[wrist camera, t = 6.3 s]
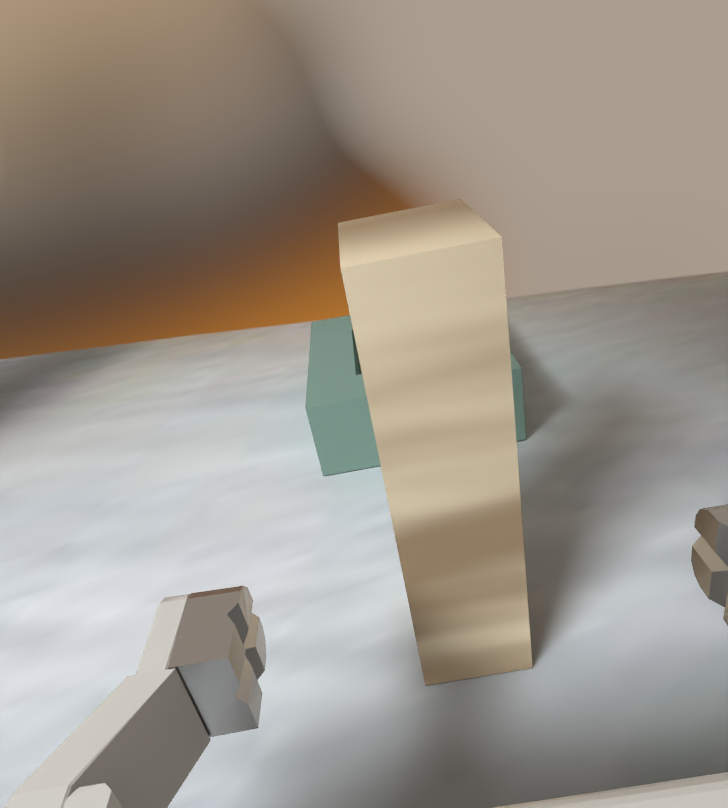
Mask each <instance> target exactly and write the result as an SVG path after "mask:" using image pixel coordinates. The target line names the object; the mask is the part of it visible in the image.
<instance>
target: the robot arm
mask: <svg viewBox="0 0 728 808" xmlns="http://www.w3.org/2000/svg"><path fill="white" fill-rule="evenodd" d="M694 527H695V528H696V529H697V531H698V532H699V533H700V534H701V537H700V538H699V539H698V540H697V541H696V542H695V543H694V545H693V546H692V558H691V561H692V565H693V570H694V574H695V577H696V579H697V581H698V583H699V585H700V587H701V589H702V590H703V591H704V593H705V594H706V596H707V597H708V599H710V600H712V601H714V602H716V603H718V604H720V605H721V606H723V607H725V611H724V618H723V619H724V621H725V622H726V623H727V625H728V504H725V505H720V506H714V507H708V508H703V509H700V510H699V511H698V513H697V515H696V519H695V526H694ZM252 603H253V599H252V597H251V595H250V592H249V590H248V587H245V586H239V587H232V588H225V589H218V590H211V591H204V592H197V593H191V594H188V595H181V596H174V597H166V598H164V599H163V600H162V601H161V603H160V604H159V606H158V609H157V612H156V615H155V618H154V621H153V624H152V627H151V630H150V633H149V636H148V639H147V642H146V645H145V648H144V651H143V654H142V657H141V660H140V663H139V666H138V669H137V672H136V675H131V676H127V677H126V678H125V679H124V680H123V681H122V682H121V683H120V684H119V685H118V686H117V687H116V688H115V690H114V691H113V692H112V693H111V694H110V695H109V696H108V697H107V698H106V699H105V700H104V701H103V702H102V703H101V704H100V705H99V706H98V707H97V708H96V709H95V710H94V711H93V712H92V713H91V714H90V715H89V716H88V717H87V718H86V719H85V720H84V721H83V722H82V723H81V724H80V725H79V726H78V727H77V728H76V729H75V730H74V731H73V732H72V733H71V734H70V735H69V736H68V737H67V738H66V739H65V741H64V742H63V743H62V744H61V745H60V746H59V747H58V748H57V749H56V750H55V751H54V752H53V753H52V754H51V755H50V756H49V757H48V758H47V759H46V760H45V761H44V762H43V763H42V764H41V765H40V766H39V767H38V768H37V769H36V770H35V771H34V772H33V773H32V774H31V775H30V776H29V777H28V778H27V779H26V780H25V781H24V782H23V783H22V784H21V785H20V786H19V787H18V788H17V789H16V791H15V792H14V793H13V794H12V795H11V796H10V799H9V801H8V803H7V805H6V808H167V807H168V805H169V804H170V802H171V801H172V799H173V798H174V796H175V795H176V793H177V791H178V790H179V788H180V787H181V785H182V784H183V782H184V781H185V779H186V778H187V776H188V774H189V773H190V771H191V770H192V768H193V767H194V765H195V764H196V762H197V761H198V759H199V757H200V756H201V754H202V753H203V751H204V750H205V748H206V747H207V745H208V744H209V742H210V737H214V736H219V735H224V734H230V733H235V732H240V731H245V730H251V729H256V728H258V725H259V716H260V708H261V699H262V691H261V688H260V686H259V683H258V681H257V680H258V679H259V677H260V676H261V675H262V673H263V672H264V671H265V662H266V645H265V636H264V631H263V627H262V624H261V621H260V618H259V617H258V616H256V615H254V614H253V613H251V610H252ZM492 808H728V772H725V773H718V774H712V775H705V776H698V777H692V778H685V779H678V780H672V781H665V782H659V783H652V784H645V785H639V786H632V787H625V788H619V789H612V790H606V791H599V792H592V793H586V794H579V795H572V796H566V797H559V798H552V799H546V800H539V801H532V802H526V803H519V804H512V805H506V806H499V807H492Z"/></svg>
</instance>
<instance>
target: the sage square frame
mask: <svg viewBox="0 0 728 808" xmlns="http://www.w3.org/2000/svg"><path fill="white" fill-rule="evenodd" d="M510 357H511V371H512V385H513V399H514V413H515V427H516V441H521V440H526V430H525V414H524V398H523V381H522V368H521V366H520V365H519V363H518V362H517V360H516V359H515V357H514V356H513V354H512V353H511V351H510ZM306 411H307V415H308V419H309V423H310V427H311V431H312V434H313V438H314V442H315V446H316V450H317V454H318V457H319V461H320V465H321V469H322V473H323V476H326V475H332V474H337V473H343V472H348V471H354V470H359V469H365V468H371V467H376V466H381V464H380V459H379V454H378V450H377V445H376V440H375V435H374V430H373V425H372V420H371V415H370V410H369V405H368V401H367V396H366V391H365V386H364V381H363V376H362V371H361V366H360V361H359V356H358V351H357V347H356V342H355V337H354V332H353V327H352V322H351V317H350V315H348V316H343V317H337V318H332V319H327V320H322V321H316V322H312V326H311V339H310V353H309V367H308V381H307V395H306Z"/></svg>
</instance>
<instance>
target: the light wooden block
mask: <svg viewBox="0 0 728 808" xmlns="http://www.w3.org/2000/svg"><path fill="white" fill-rule="evenodd" d="M338 233H339V250H340V267H341V273H342V277H343V283H344V287H345V293H346V297H347V302H348V307H349V312H350V317H351V322H352V327H353V332H354V337H355V342H356V347H357V351H358V356H359V361H360V366H361V371H362V376H363V381H364V386H365V391H366V396H367V401H368V405H369V410H370V415H371V420H372V425H373V430H374V435H375V440H376V445H377V450H378V454H379V459H380V464H381V469H382V474H383V479H384V484H385V489H386V494H387V499H388V504H389V508H390V513H391V518H392V523H393V528H394V533H395V538H396V543H397V548H398V553H399V558H400V562H401V567H402V572H403V577H404V582H405V587H406V592H407V597H408V602H409V607H410V612H411V616H412V621H413V626H414V631H415V636H416V641H417V646H418V651H419V656H420V661H421V665H422V670H423V675H424V680H425V685H426V686H427V685H433V684H439V683H445V682H451V681H457V680H463V679H469V678H475V677H481V676H487V675H493V674H499V673H506V672H512V671H518V670H524V669H530V668H533V666H532V652H531V638H530V624H529V610H528V596H527V582H526V568H525V554H524V540H523V526H522V512H521V498H520V484H519V469H518V455H517V441H516V427H515V413H514V399H513V385H512V371H511V357H510V343H509V329H508V315H507V301H506V287H505V274H504V259H503V246H502V236H500V235H499V234H498V233H497V232H496V231H495V230H493V228H492V227H490V226H489V225H488V224H487V223H486V222H485V221H484V220H483V219H482V218H481V217H479V216H478V215H477V214H476V213H475V212H474V211H473V210H472V209H471V208H469V207H468V206H467V205H466V204H465V203H464V202H463V201H462V200H461V199H457V200H452V201H447V202H443V203H437V204H432V205H427V206H422V207H417V208H412V209H407V210H402V211H397V212H392V213H387V214H382V215H377V216H371V217H366V218H361V219H356V220H351V221H346V222H341V223H338Z"/></svg>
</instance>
